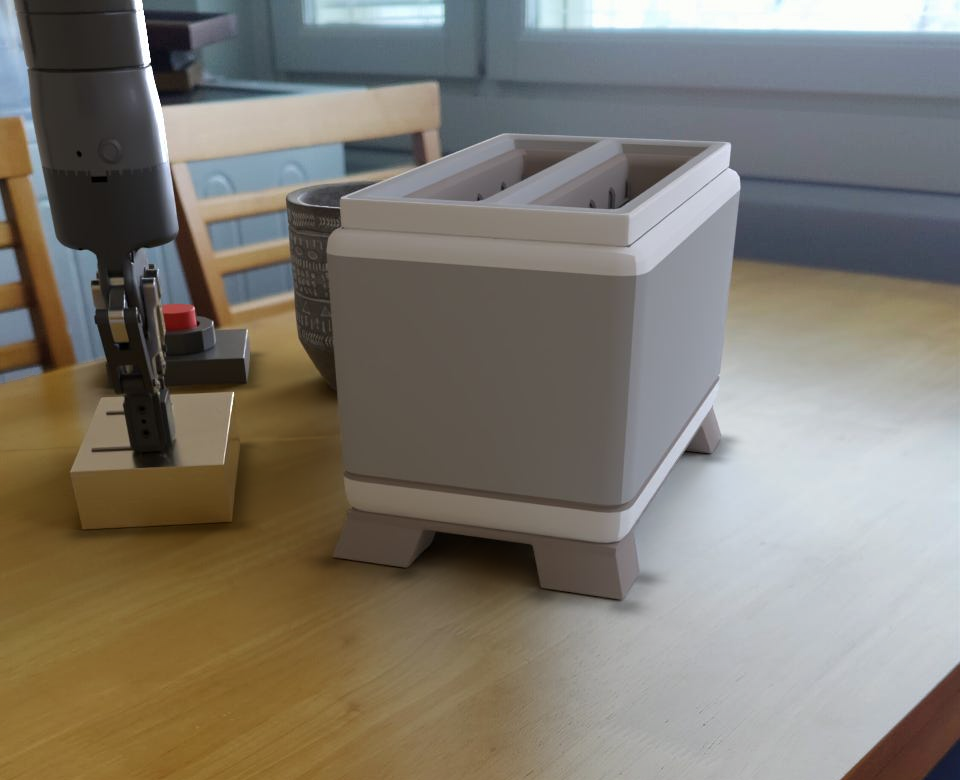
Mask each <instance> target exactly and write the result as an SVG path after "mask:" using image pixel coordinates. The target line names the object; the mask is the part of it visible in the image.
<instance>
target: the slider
mask: <svg viewBox="0 0 960 780" xmlns="http://www.w3.org/2000/svg"><path fill="white" fill-rule="evenodd" d="M170 395H171V393H170V389H169V388H166V389H159V396H160V402H161V408H162V414H163V420H164V426H165V432H166V439H167V444H166V447H169V446H172V444H173V440H174V436H175V432H176V431H175V425H174V418H173V412H172V406H171V400H170ZM123 409H124V414H125V420H126V425H127V431H128V436H129V442H130V447H131V448H134V447H133V443H132V438H131V432H130V427H129V421H128V416H127V410H126V405H125V399H124V402H123Z"/></svg>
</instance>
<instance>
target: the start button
mask: <svg viewBox="0 0 960 780" xmlns="http://www.w3.org/2000/svg"><path fill="white" fill-rule="evenodd" d="M161 305H162V311H163V317H164V322H165V328H166V331H179V330H186V329H191V328H195V327H197V323H196V316H197V315H196V310H195V309H196V308H195V306H194V305H192V304H187V303H168V304H161Z"/></svg>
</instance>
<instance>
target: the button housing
mask: <svg viewBox="0 0 960 780" xmlns="http://www.w3.org/2000/svg"><path fill="white" fill-rule="evenodd" d="M195 316H196V323H197V327H195V328H191V329H186V330H179V331H166V332H165V339H164V341H165V344H166V346H167V352H166V357H163V358H164V361H166V369H165V374H161V375H159V376H164V382H165V388H166V387H185V386H208V385H209V386H211V385H213V386H214V385H233V384H234V385H235V384H236V385H237V384H247V383H248V378H249V369H250V361H251V360H250V359H251V345H250V336H249V329H248V328H233V329H231V328H230V329H215V323H214V320H212V319H210V318H209V317H208V318H207V317H206V316H200V315H195ZM105 368H106V373H107V374H106V375H107V379H108V380H107V381H108V384H109V389H110V390H114V389H113V387H112V379H111V375H110V371H109V368H108V364H107V361H106V362H105ZM126 372H127V370H126ZM127 373H128V372H127Z"/></svg>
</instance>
